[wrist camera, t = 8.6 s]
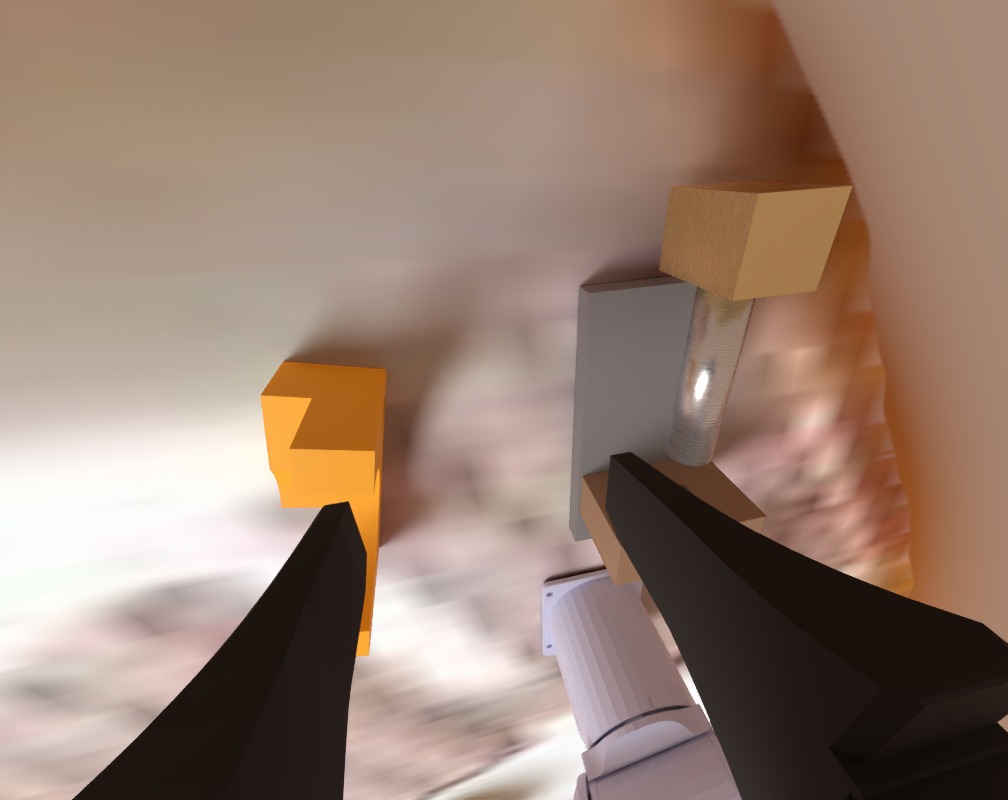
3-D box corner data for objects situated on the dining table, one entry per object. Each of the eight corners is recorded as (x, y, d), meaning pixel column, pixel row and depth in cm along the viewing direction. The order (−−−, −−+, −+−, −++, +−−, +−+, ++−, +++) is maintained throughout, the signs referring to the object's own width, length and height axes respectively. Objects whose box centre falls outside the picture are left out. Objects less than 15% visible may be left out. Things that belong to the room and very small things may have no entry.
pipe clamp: (284, 359, 18) (225, 447, 12) (386, 367, 19) (374, 450, 13) (301, 547, 23) (266, 665, 18) (379, 545, 24) (368, 655, 19)
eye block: (679, 505, 28) (742, 584, 22) (569, 527, 27) (607, 616, 21) (735, 268, 19) (855, 306, 14) (579, 286, 18) (646, 334, 13)
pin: (690, 421, 21) (750, 477, 17) (636, 430, 20) (686, 490, 17) (744, 180, 15) (852, 185, 11) (670, 186, 15) (758, 193, 11)
